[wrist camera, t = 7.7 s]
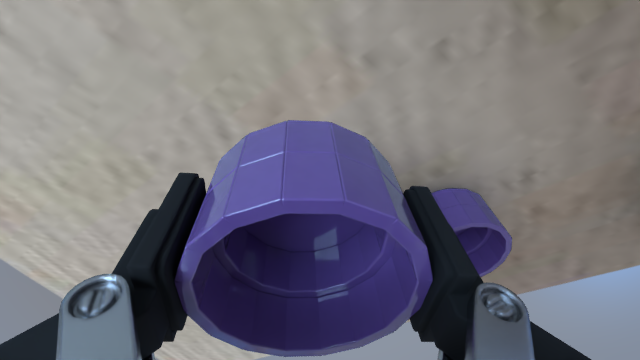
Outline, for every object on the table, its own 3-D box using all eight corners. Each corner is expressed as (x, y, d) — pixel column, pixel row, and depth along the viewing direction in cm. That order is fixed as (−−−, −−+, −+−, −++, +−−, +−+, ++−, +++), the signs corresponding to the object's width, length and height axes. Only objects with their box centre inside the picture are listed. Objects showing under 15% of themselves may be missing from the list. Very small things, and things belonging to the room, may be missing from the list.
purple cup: (388, 230, 28) (401, 271, 24) (437, 173, 24) (461, 211, 21) (447, 250, 30) (468, 291, 26) (499, 200, 26) (531, 239, 23)
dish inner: (195, 228, 13) (154, 335, 9) (249, 78, 9) (217, 153, 6) (339, 269, 15) (352, 369, 11) (427, 158, 12) (487, 250, 8)
